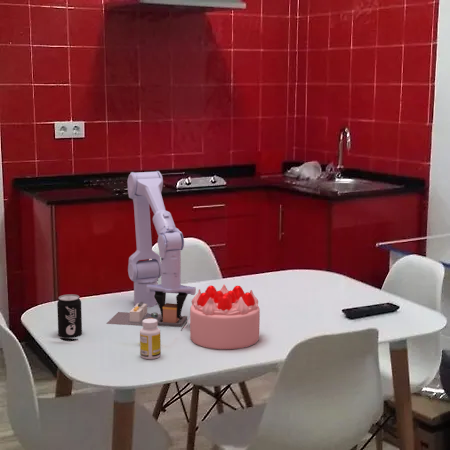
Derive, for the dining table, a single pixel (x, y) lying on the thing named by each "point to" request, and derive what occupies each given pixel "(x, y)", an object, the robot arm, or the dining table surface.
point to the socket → (180, 324)
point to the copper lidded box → (170, 313)
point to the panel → (124, 319)
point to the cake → (224, 318)
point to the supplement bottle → (150, 339)
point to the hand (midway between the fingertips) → (171, 316)
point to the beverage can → (69, 317)
